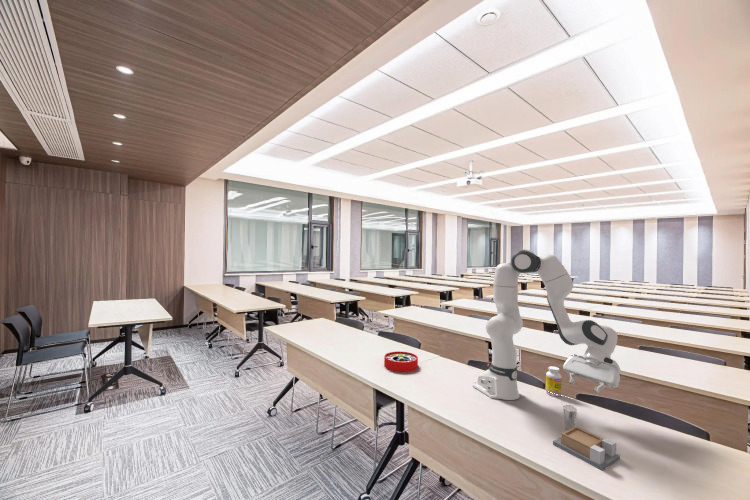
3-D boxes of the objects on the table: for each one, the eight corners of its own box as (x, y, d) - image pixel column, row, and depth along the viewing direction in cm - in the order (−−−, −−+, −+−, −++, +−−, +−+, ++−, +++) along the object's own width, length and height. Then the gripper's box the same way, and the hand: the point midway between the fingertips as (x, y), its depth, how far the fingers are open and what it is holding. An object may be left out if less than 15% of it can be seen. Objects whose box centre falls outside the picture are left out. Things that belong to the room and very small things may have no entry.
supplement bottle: (554, 397, 155) (555, 371, 155) (542, 392, 161) (543, 366, 161) (564, 395, 157) (564, 369, 157) (552, 390, 164) (552, 364, 164)
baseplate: (553, 444, 117) (553, 430, 117) (570, 435, 123) (571, 421, 123) (602, 470, 103) (602, 454, 103) (619, 458, 109) (620, 443, 109)
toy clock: (394, 349, 207) (423, 355, 197) (393, 358, 207) (422, 364, 197) (378, 358, 190) (409, 364, 180) (378, 368, 190) (409, 375, 180)
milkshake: (561, 423, 131) (562, 399, 131) (577, 428, 128) (577, 403, 128) (559, 428, 128) (560, 403, 128) (575, 433, 124) (576, 407, 124)
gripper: (567, 349, 146) (555, 374, 141) (620, 363, 129) (608, 392, 124) (572, 357, 148) (560, 382, 143) (625, 372, 131) (613, 401, 126)
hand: (583, 387), depth 133 cm, fingers open, 8 cm apart
